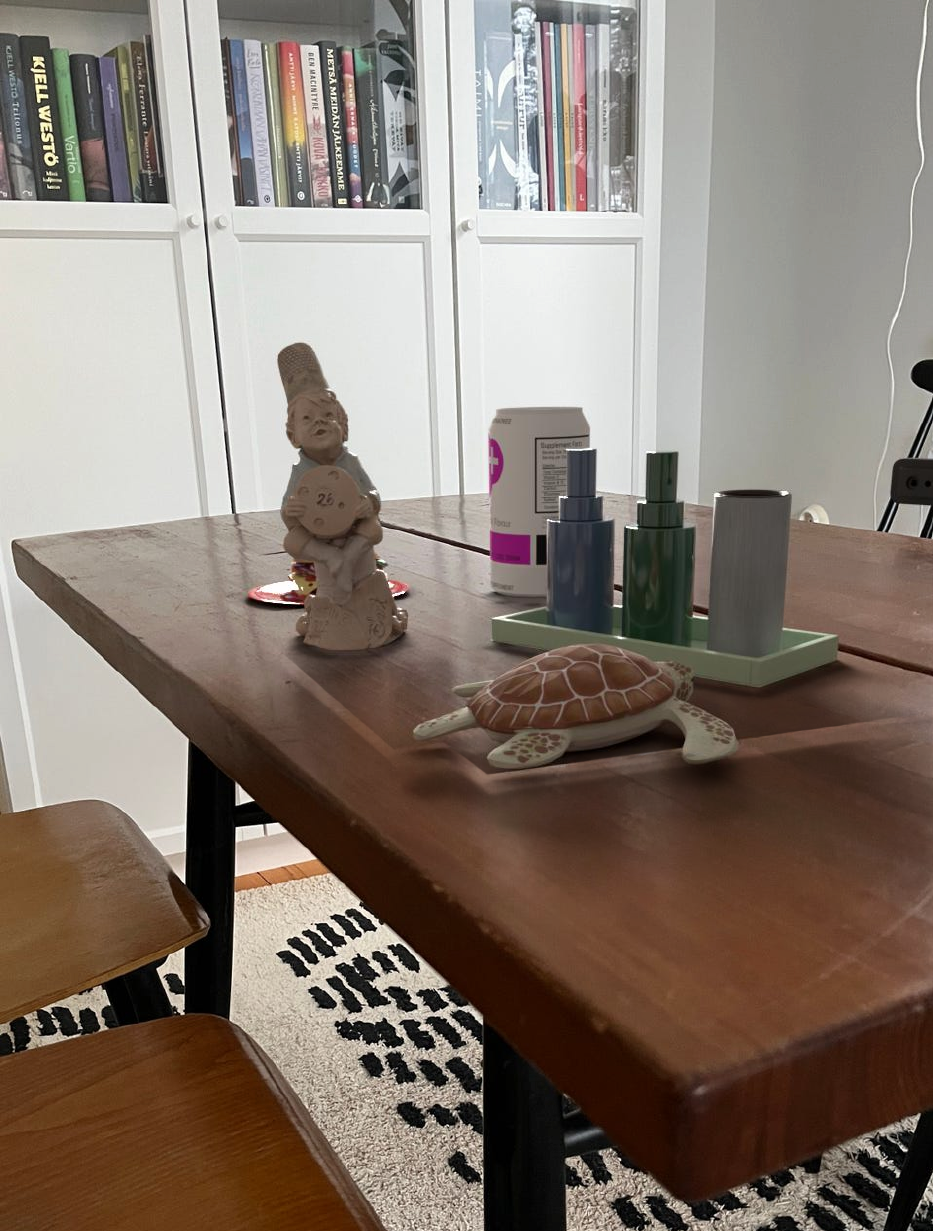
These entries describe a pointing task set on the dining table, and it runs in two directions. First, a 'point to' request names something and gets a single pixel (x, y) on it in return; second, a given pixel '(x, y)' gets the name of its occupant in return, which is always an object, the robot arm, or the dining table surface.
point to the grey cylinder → (748, 571)
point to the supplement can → (527, 490)
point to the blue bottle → (581, 552)
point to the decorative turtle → (583, 707)
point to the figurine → (333, 517)
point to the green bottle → (659, 560)
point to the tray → (678, 647)
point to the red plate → (307, 584)
